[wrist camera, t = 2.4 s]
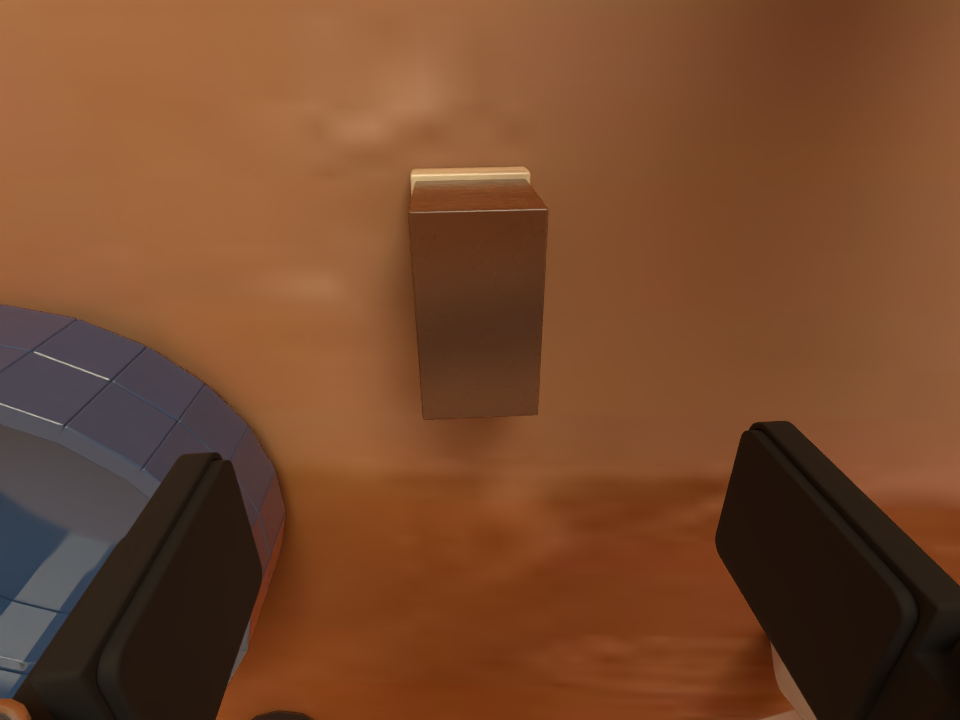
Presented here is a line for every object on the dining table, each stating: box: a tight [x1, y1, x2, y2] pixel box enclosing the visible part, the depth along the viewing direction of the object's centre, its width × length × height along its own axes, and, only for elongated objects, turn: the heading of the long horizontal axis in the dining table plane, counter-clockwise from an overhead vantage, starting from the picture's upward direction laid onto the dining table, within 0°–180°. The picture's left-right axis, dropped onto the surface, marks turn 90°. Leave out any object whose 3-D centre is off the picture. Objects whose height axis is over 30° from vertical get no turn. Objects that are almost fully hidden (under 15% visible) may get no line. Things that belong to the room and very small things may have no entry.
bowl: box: [0, 305, 286, 699], centre depth 22 cm, size 19×19×6 cm
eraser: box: [408, 167, 548, 420], centre depth 18 cm, size 7×4×6 cm, turn 0°
